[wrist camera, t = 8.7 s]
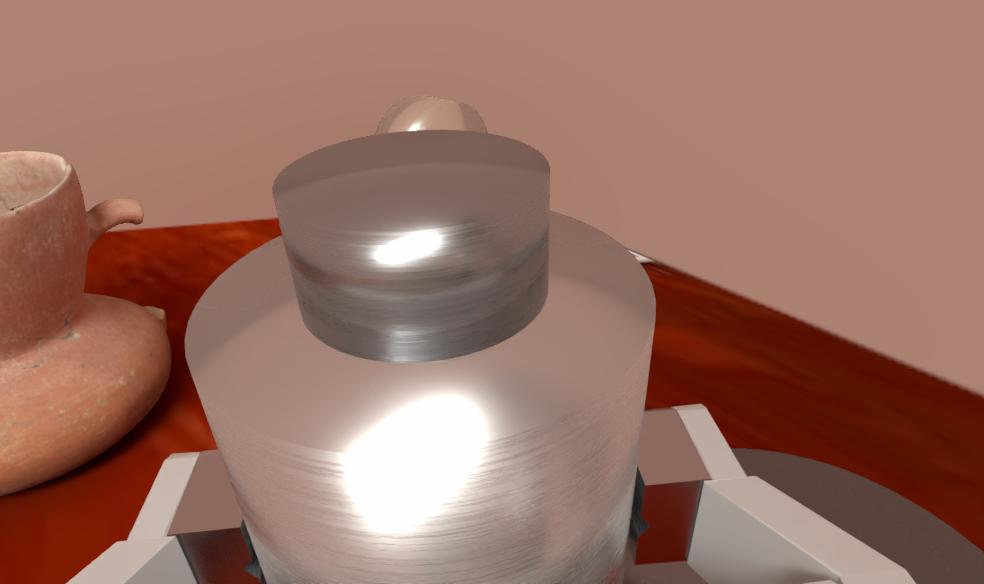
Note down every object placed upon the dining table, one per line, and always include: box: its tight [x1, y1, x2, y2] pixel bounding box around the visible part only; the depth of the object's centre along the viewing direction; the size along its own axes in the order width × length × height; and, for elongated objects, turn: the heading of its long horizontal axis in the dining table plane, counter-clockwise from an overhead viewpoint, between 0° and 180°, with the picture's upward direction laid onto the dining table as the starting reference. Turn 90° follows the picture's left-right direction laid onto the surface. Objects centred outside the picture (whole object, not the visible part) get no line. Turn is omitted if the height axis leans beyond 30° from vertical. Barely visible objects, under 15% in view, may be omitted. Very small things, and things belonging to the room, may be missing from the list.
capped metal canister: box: [185, 130, 656, 584], centre depth 10 cm, size 6×6×12 cm
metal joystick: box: [374, 95, 487, 135], centre depth 29 cm, size 5×5×18 cm
